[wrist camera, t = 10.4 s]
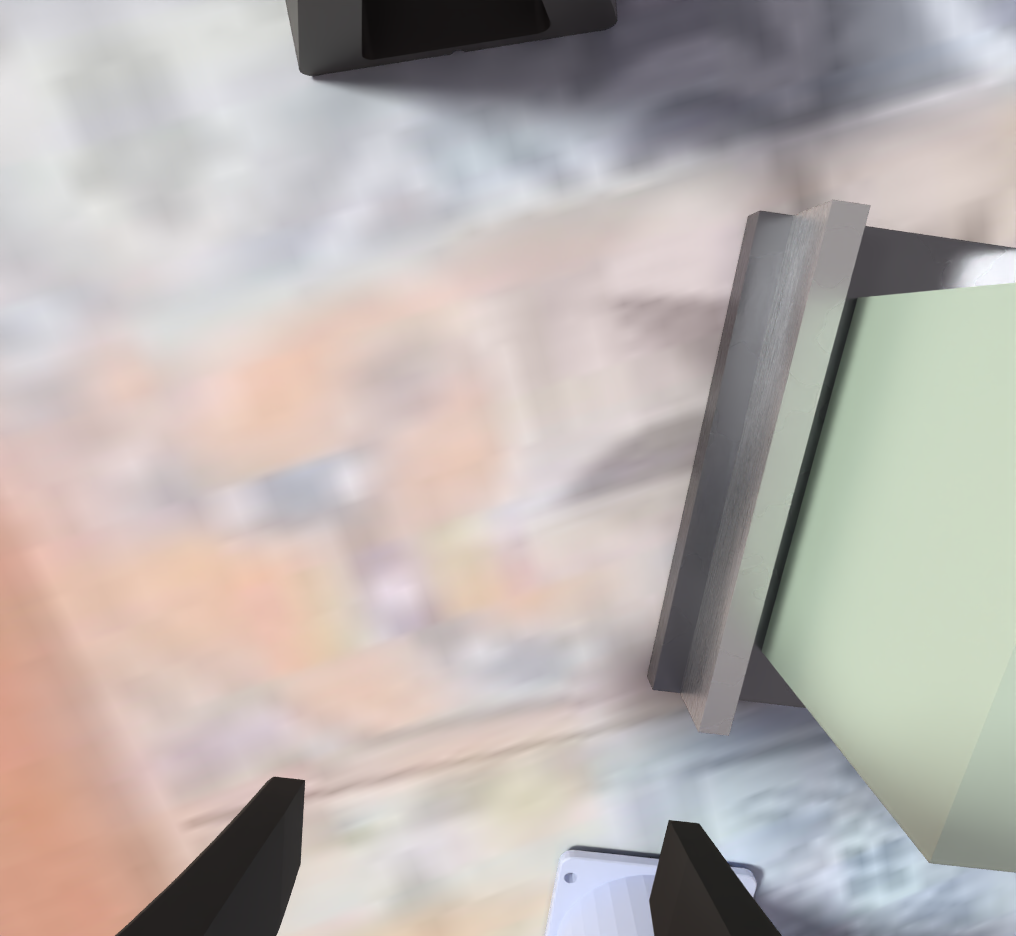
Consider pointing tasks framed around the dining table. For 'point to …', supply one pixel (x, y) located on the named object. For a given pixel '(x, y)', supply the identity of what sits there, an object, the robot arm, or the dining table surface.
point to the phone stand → (429, 28)
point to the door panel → (915, 569)
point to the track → (777, 434)
